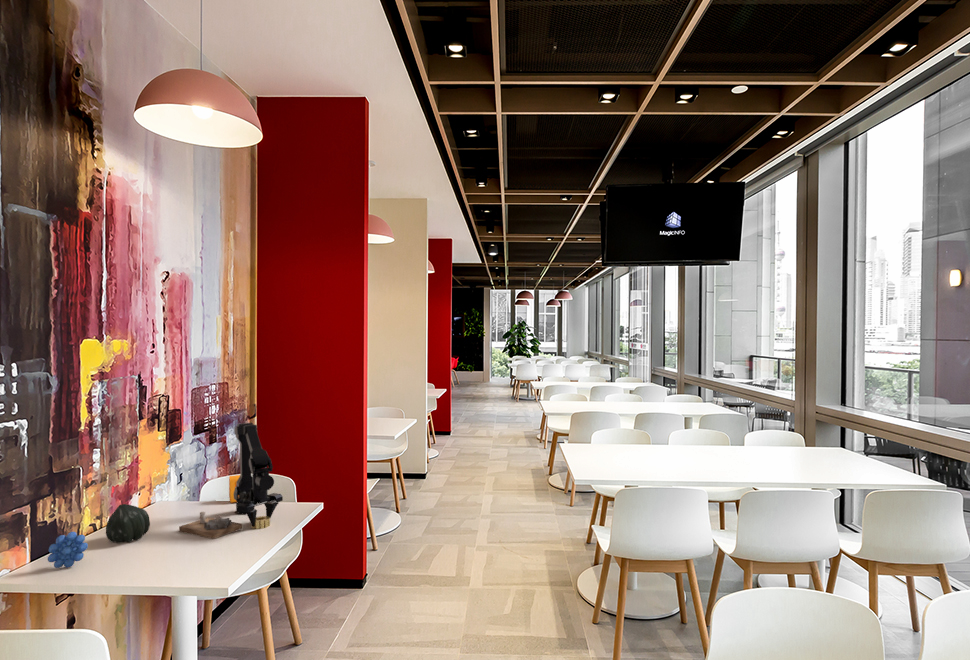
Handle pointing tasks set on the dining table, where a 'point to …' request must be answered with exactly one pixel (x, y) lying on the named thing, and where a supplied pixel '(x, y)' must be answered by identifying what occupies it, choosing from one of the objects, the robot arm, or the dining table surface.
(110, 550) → the dining table surface
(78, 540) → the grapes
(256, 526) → the brass gear
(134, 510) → the squash
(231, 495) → the bracket
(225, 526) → the gear board
